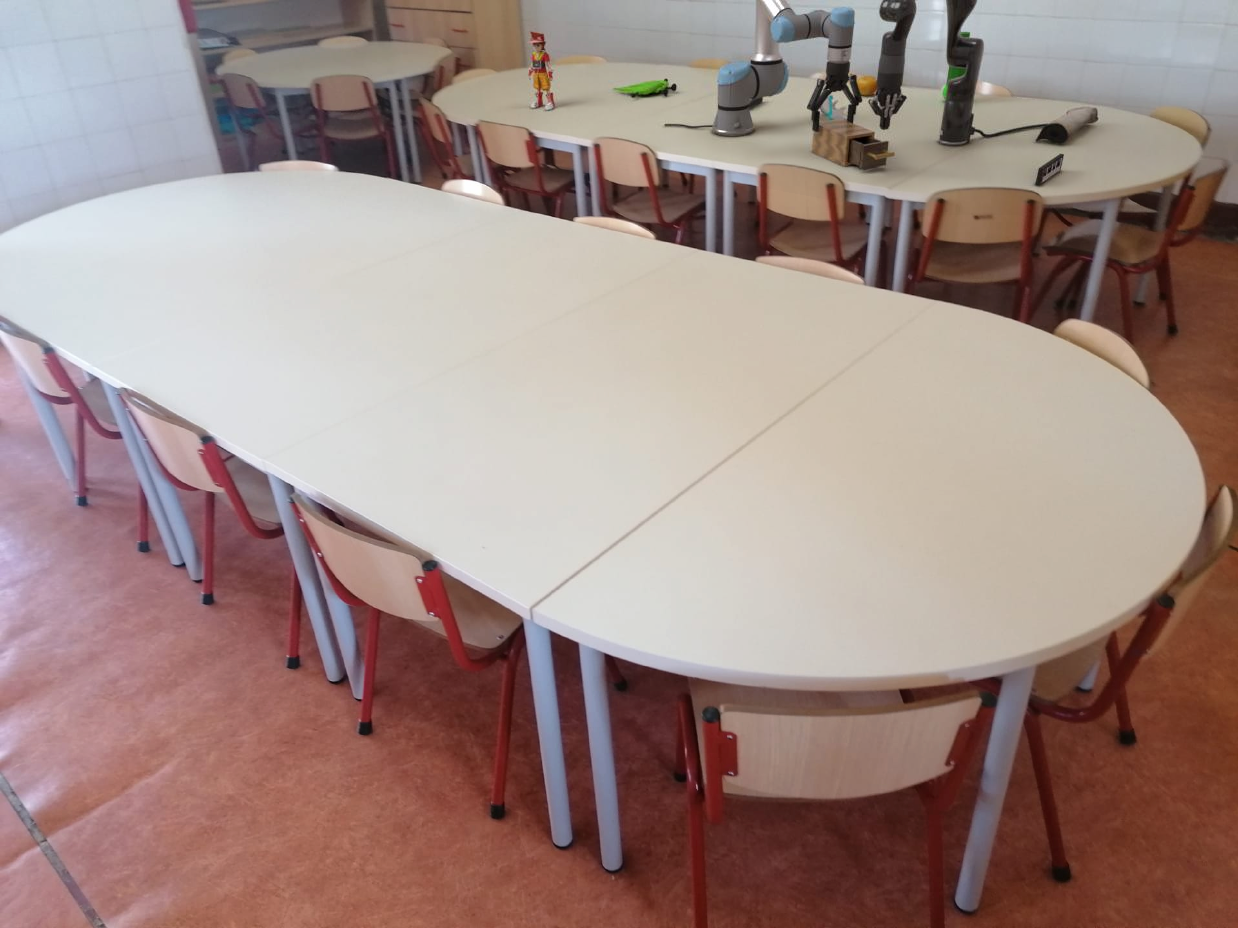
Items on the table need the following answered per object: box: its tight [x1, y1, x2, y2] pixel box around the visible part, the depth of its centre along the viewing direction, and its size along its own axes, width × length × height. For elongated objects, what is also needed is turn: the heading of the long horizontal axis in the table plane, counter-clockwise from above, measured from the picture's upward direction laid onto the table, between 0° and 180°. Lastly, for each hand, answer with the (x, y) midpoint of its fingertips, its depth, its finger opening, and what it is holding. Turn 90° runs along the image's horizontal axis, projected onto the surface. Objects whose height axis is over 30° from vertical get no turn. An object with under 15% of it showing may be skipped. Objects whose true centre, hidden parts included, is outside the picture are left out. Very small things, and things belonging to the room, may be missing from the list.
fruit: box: [857, 75, 877, 96], centre depth 370 cm, size 8×8×8 cm
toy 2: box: [612, 78, 677, 99], centre depth 396 cm, size 28×5×30 cm
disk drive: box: [749, 97, 764, 110], centre depth 367 cm, size 10×3×15 cm
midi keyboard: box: [1035, 153, 1065, 186], centre depth 273 cm, size 18×1×5 cm, turn 138°
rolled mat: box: [1035, 106, 1099, 146], centre depth 310 cm, size 30×9×10 cm
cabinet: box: [811, 119, 876, 167], centre depth 301 cm, size 20×11×10 cm, turn 22°
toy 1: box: [527, 31, 556, 111], centre depth 374 cm, size 12×9×30 cm
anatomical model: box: [819, 94, 847, 121], centre depth 342 cm, size 15×10×10 cm
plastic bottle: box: [942, 31, 971, 100], centre depth 348 cm, size 10×10×25 cm
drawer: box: [847, 136, 896, 171], centre depth 292 cm, size 24×9×8 cm, turn 22°
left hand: (832, 128), depth 304 cm, fingers open, 13 cm apart
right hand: (884, 129), depth 279 cm, fingers closed
